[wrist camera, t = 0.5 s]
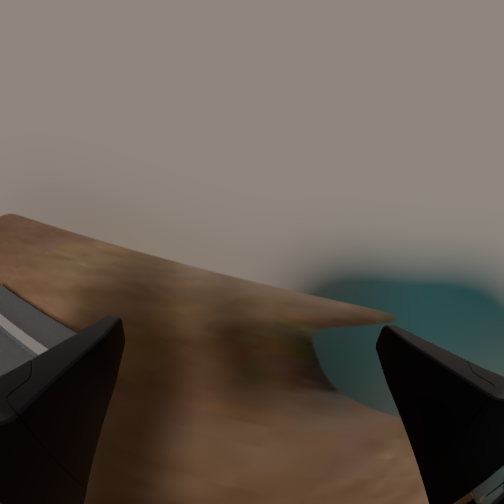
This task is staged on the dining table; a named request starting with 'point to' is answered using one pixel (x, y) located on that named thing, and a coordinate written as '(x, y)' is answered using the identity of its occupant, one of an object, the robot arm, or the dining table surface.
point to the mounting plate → (25, 331)
